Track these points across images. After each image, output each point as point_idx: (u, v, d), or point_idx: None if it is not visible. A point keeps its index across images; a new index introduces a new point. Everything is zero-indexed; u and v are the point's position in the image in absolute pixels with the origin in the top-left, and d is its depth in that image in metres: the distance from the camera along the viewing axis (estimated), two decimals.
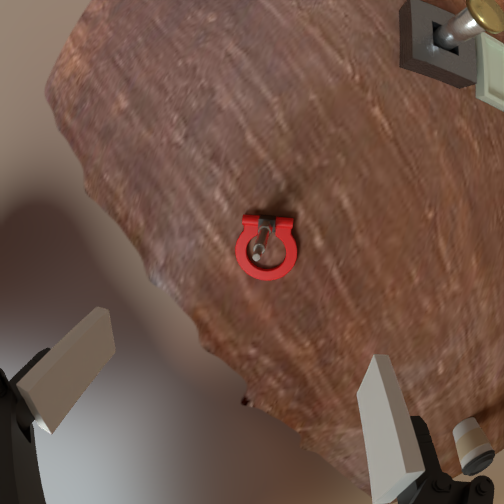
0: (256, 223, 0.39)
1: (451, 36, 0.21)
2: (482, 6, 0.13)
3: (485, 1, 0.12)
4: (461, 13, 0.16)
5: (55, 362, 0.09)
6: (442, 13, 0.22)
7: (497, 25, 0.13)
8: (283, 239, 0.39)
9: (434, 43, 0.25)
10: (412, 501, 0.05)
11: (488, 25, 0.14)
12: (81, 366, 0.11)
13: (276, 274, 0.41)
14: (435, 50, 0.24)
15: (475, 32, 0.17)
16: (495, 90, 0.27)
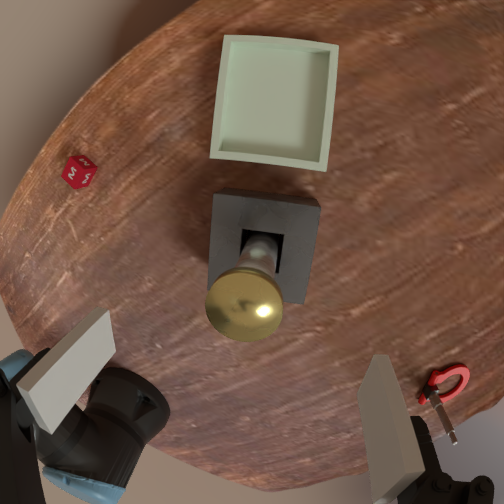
0: None
1: None
2: (242, 323, 0.18)
3: (225, 312, 0.18)
4: None
5: (55, 362, 0.09)
6: (217, 247, 0.29)
7: (270, 303, 0.18)
8: (445, 377, 0.36)
9: None
10: (412, 501, 0.05)
11: (279, 322, 0.18)
12: (81, 366, 0.11)
13: (466, 376, 0.36)
14: (286, 271, 0.29)
15: None
16: (303, 132, 0.28)
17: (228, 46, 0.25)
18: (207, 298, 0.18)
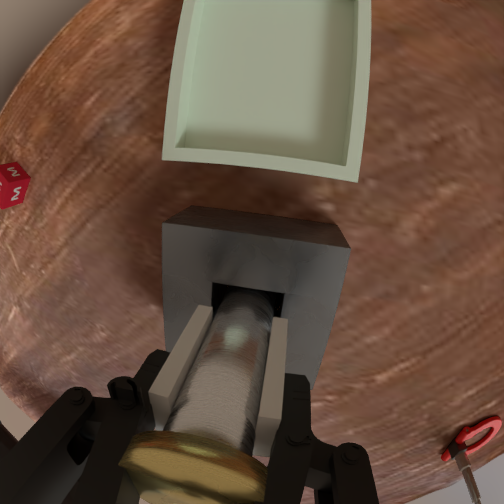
0: None
1: None
2: None
3: (157, 494, 0.07)
4: None
5: (184, 362, 0.11)
6: (175, 308, 0.17)
7: (243, 503, 0.06)
8: (475, 433, 0.24)
9: None
10: (270, 459, 0.07)
11: None
12: None
13: (497, 427, 0.24)
14: (286, 348, 0.17)
15: None
16: (318, 115, 0.16)
17: None
18: None
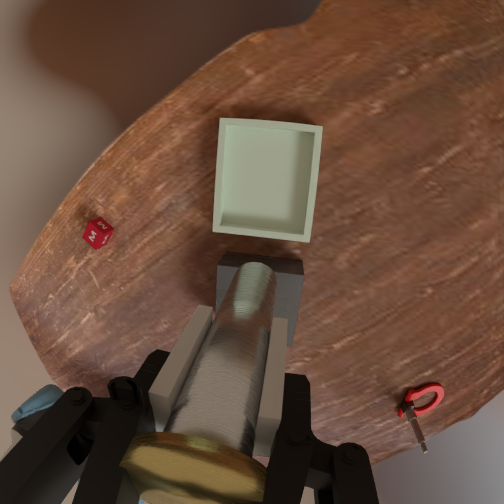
0: None
1: None
2: None
3: (158, 495, 0.07)
4: None
5: (184, 362, 0.11)
6: None
7: None
8: (420, 395, 0.42)
9: None
10: None
11: None
12: None
13: (441, 393, 0.42)
14: None
15: None
16: (291, 206, 0.35)
17: (224, 129, 0.32)
18: None
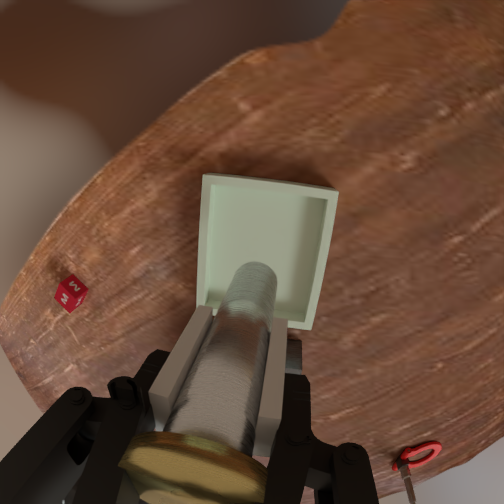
0: None
1: None
2: None
3: (157, 495, 0.06)
4: None
5: (184, 362, 0.11)
6: None
7: None
8: (417, 452, 0.36)
9: None
10: None
11: None
12: None
13: (438, 449, 0.36)
14: None
15: None
16: (291, 286, 0.29)
17: (208, 191, 0.25)
18: None
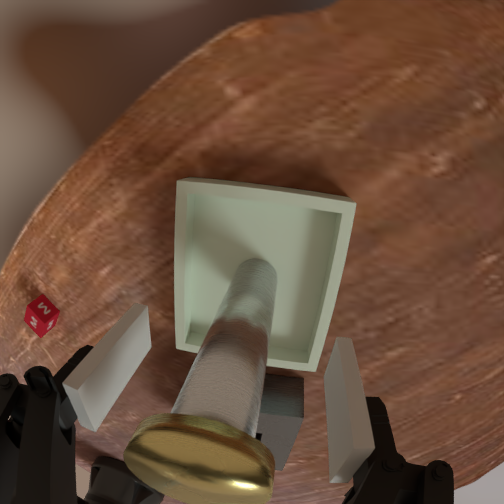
0: None
1: None
2: (196, 494, 0.07)
3: (163, 479, 0.07)
4: None
5: (102, 358, 0.10)
6: None
7: (246, 485, 0.07)
8: None
9: None
10: (363, 483, 0.06)
11: (265, 500, 0.07)
12: (123, 362, 0.12)
13: None
14: None
15: (259, 408, 0.10)
16: (292, 319, 0.23)
17: (184, 202, 0.19)
18: (126, 458, 0.07)
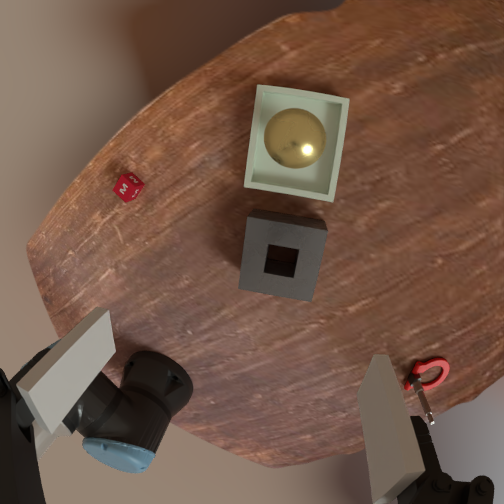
0: None
1: None
2: (293, 150, 0.22)
3: (280, 140, 0.22)
4: None
5: (55, 362, 0.09)
6: (248, 257, 0.38)
7: (316, 132, 0.21)
8: (427, 368, 0.45)
9: None
10: (413, 501, 0.05)
11: (323, 150, 0.21)
12: (81, 366, 0.11)
13: (446, 369, 0.45)
14: (299, 277, 0.38)
15: None
16: (317, 169, 0.37)
17: (260, 95, 0.33)
18: (266, 128, 0.21)
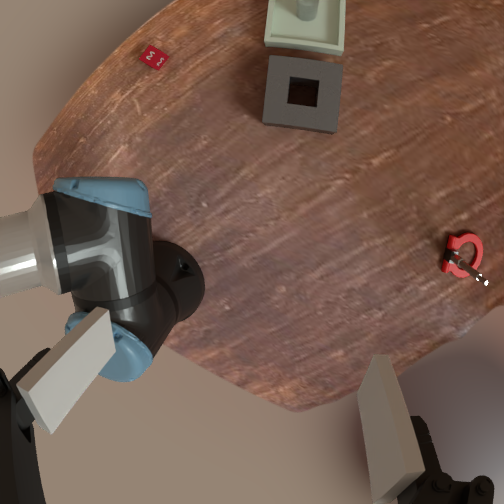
0: (449, 262, 0.43)
1: None
2: None
3: None
4: None
5: (55, 362, 0.09)
6: (271, 89, 0.35)
7: None
8: (461, 243, 0.42)
9: (313, 10, 0.30)
10: (412, 501, 0.05)
11: None
12: (81, 366, 0.11)
13: (480, 248, 0.42)
14: (322, 106, 0.35)
15: None
16: (326, 32, 0.34)
17: None
18: None
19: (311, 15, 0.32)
